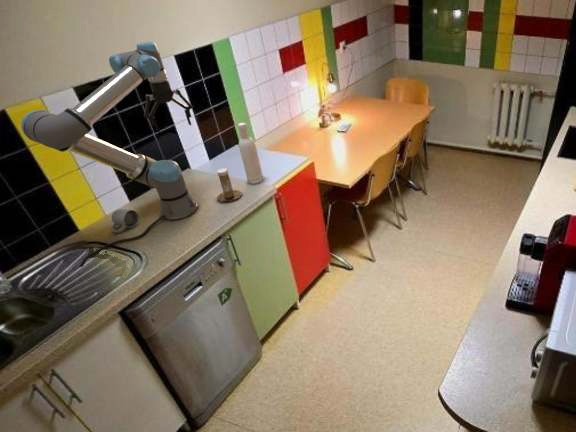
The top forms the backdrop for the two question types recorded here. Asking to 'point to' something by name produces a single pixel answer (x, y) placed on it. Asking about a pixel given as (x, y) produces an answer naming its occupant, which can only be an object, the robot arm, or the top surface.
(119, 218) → the ceramic mug
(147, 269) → the top surface
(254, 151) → the bottle
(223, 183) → the sprinkles bottle
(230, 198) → the disc
